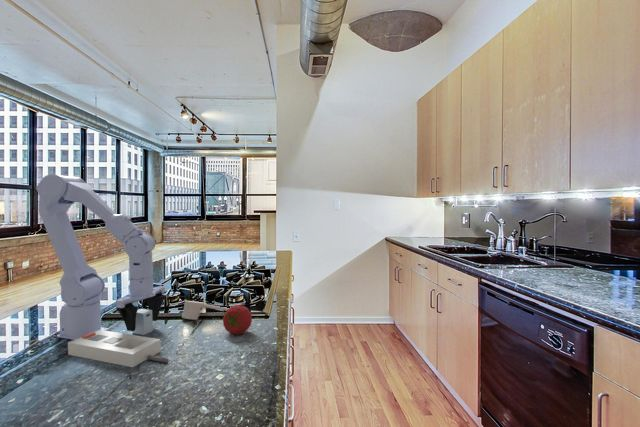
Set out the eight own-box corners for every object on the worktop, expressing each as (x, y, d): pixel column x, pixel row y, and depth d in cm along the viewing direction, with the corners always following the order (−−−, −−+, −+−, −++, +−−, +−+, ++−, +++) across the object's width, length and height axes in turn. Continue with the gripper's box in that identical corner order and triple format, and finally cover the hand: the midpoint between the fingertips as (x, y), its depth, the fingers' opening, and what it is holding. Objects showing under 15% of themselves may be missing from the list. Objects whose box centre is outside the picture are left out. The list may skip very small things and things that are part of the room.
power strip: (68, 354, 78) (67, 339, 78) (100, 340, 86) (99, 327, 85) (154, 371, 70) (153, 355, 70) (180, 354, 78) (180, 340, 77)
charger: (132, 333, 90) (132, 312, 90) (141, 329, 93) (141, 308, 93) (144, 335, 89) (143, 313, 89) (152, 330, 92) (152, 310, 92)
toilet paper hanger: (246, 308, 109) (211, 306, 95) (243, 324, 108) (207, 323, 94) (203, 300, 118) (165, 296, 105) (200, 314, 117) (161, 312, 104)
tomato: (243, 297, 94) (229, 300, 87) (261, 317, 92) (248, 321, 85) (226, 318, 95) (211, 322, 88) (244, 338, 92) (229, 344, 85)
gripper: (130, 284, 83) (131, 337, 83) (172, 272, 96) (173, 317, 97) (109, 282, 85) (110, 333, 85) (153, 271, 98) (154, 315, 99)
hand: (142, 325), depth 91 cm, fingers open, 7 cm apart
